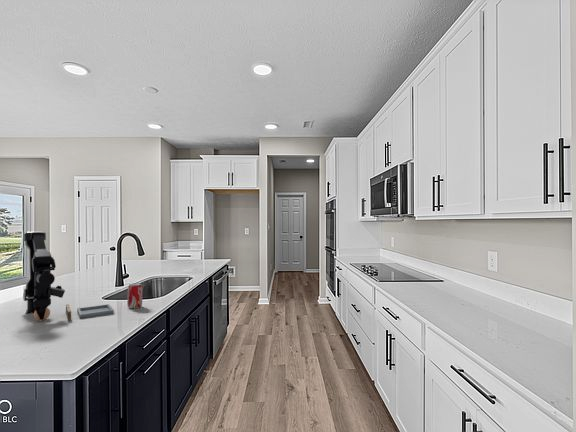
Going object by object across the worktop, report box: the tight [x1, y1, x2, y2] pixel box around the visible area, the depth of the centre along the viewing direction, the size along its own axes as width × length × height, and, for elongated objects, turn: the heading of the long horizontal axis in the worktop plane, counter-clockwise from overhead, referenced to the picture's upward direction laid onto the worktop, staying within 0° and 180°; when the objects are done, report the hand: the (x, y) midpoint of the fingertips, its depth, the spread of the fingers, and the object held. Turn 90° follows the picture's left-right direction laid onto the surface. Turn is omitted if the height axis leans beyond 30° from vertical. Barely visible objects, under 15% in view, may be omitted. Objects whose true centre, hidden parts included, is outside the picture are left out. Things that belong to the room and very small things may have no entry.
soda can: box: [126, 282, 143, 309], centre depth 175 cm, size 7×7×12 cm
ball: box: [33, 307, 51, 322], centre depth 152 cm, size 6×6×6 cm
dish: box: [76, 303, 115, 320], centre depth 165 cm, size 14×14×2 cm
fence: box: [65, 304, 72, 322], centre depth 158 cm, size 16×1×4 cm, turn 36°
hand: (42, 317), depth 152 cm, fingers open, 7 cm apart
